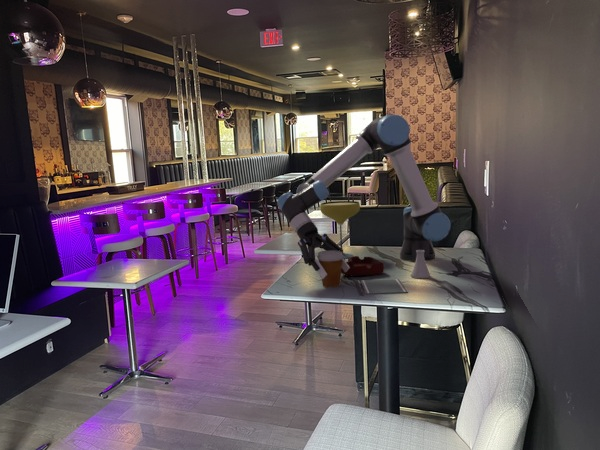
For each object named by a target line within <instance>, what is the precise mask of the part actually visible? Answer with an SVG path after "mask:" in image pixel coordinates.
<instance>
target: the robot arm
mask: <svg viewBox="0 0 600 450" xmlns="http://www.w3.org/2000/svg"><path fill="white" fill-rule="evenodd" d="M410 132H411V127H410V125H409V123H408V121H407V120H406V118H404V116H402V115H398V114H387V115H384V116H380V117H377V118H375V119H373V120H372V121H371V122H370V123H369V124H368V125H367V126H366V127H365V128H364V129H362V131H360V132H359V133H358V134H357V135H356V136H355V139H354V141H352V142H351V143H350V144H349V145H347V146H346V147H345V148H344V149H343V150H342V151H340V152H339V153H338V154H336V155H335V157H334V158H332V159H331V160H330V161H328V162H327V163H326V164H325V165H323V167H322V168H320V169H319V170H318V171H316V173H314V174H313V175H312V176H311V177H310V178H308V179H307V180H306V181H305V182H303V183H301V184H299V185H298V187H297V189H296V193H295V194H294V193H293V192H290V191H289V192H288V191H287V192H286V193H283V194H282V195H280V196H279V198H278V199H277V203H276V204H277V207H278V208H279V210H280V211H281V213H282V215H283V216H284V218H285V219H286V220H287V222H288V223H289V224H290V226H291V227H292V229H293V230H294V232H295V233H296V235H297V236H298V237H299V241H298V242H297V245H298V246H299V248H300V251H301V255H302V258H303V261H304V262H303V263H304V264H305V265H308V266H310V267H311V266H312V268H313V269H314V271H316V273H317V274H318V275H319V277H320V278H321V280H322V279H324V278H325V277H326V276H327V273H326V271H325V270H324V269H323V267H322V266H321V264H320V263H319V260H318V259H316V250H315V249H319V248H320V250H322V249H323V251H329V250H334V251H341V252H343V253H344V248H342V249H341V248H340V246H339V245H338V244H337V243H336V242H335V241H334V240H332V239H331V238H330V237H329V235H328V234H327V233H323V234H322V235H321V234H320V233H319V230H318V227H317V226H316V224H315V223H314V222H313V220H312V218H311V217H310V216H309V214H308V213H307V212H306V211H308V210H309V209H311V208H313V207H314V206H316V205H318V204H319V203H320V202H322V201H324V200H325V199H326V198H328V196H329V195H330V192H329V189H328V187H329V186H331V184H333V183H334V182H335V181H336V180H337V179H339V178H340V177H341V176H343V174H344V173H346V172H347V171H349V169H350V168H352V167H353V166H354V165H355V164H357V162H359V161H360V160H361V159H363V158H364V157H365V156H366V155H368V154H370V155H371V154H372V153H373V152H374V151H376V150H378V149H379V148H380V150H381V152H382V154H383V156H386V157H388V158H389V159H390V162H391V164H392V166H393V169H394V171H395V173H396V176H397V178H398V181H399V182H400V184H401V187H402V189H403V192H404V194H405V196H406V198H407V200H408V203H409V205H410V206H406V207H404V208H403V215H402V217H403V242H402V246H401V248H400V252H399V258H400V259H401V260H403V261H409V262H416V258H417V252H416V250H424V251H425V252H424V259H425V262H429V261H433V260H435V259H436V251H435V249H434V246H433V242H439V241H441V240H443V239H445V238H446V237H447V236H448V235H449V232H450V230H451V227H452V224H451V220H450V219H449V217H448V216H447V215H446V214H445V213H443V212H442V210H441V208H440V205H439V203H438V202H436V201H433V199H432V197H431V195H430V192H429V190H428V187H427V185H426V183H425V181H424V178H423V176H422V173H421V172H420V168H419V167H418V165H417V162H416V160H415V158H414V155H413V153H412V150H411V149H410V147H411V144H412V140H411V138H410ZM346 262H347V261H346V259H344V258H343V259H342V267H341V268H342V269H343V270H344V272H347V270H348V269H349V268H350V267H349V266H348V264H347V263H346Z"/></svg>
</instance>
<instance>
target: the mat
mask: <svg viewBox="0 0 600 450" xmlns="http://www.w3.org/2000/svg"><path fill="white" fill-rule="evenodd" d="M360 283H361V286H362V288H363V291H364V293H365V295H386V294H408V293H409V291H408V290H407V289H406V288H405V286H404V284H403V283H402V282H401V280H400V279H399V278H393V279H369V280H365V279H363V280H360Z"/></svg>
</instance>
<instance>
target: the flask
mask: <svg viewBox="0 0 600 450" xmlns="http://www.w3.org/2000/svg"><path fill="white" fill-rule="evenodd" d="M416 252H417V258H416V261H414V262H415V263H414V265H413V268H412V272H411V274H410V277H411V278H413V279H414V278H415V279H428V278H430V277H431V273H430V272H429V268H428V265H427V263H426V261H425V259H424V252H425V251H424V250H416Z"/></svg>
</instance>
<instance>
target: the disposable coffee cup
mask: <svg viewBox="0 0 600 450" xmlns="http://www.w3.org/2000/svg"><path fill="white" fill-rule="evenodd" d="M316 258H317V260H318V261H319V263H320V264H321V266H322V267H323V269H324V270H325V271H326V273H327V276H326V277H325V278H324V279H322V278H321V282H322V283H321V284H322V287H324V288H337V287H339V286H341V277H342V273H341V267H342V259H343V254H342V252H341V251H334V250H329V251H326V250H323V251H319V252H318V253H317V256H316Z"/></svg>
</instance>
